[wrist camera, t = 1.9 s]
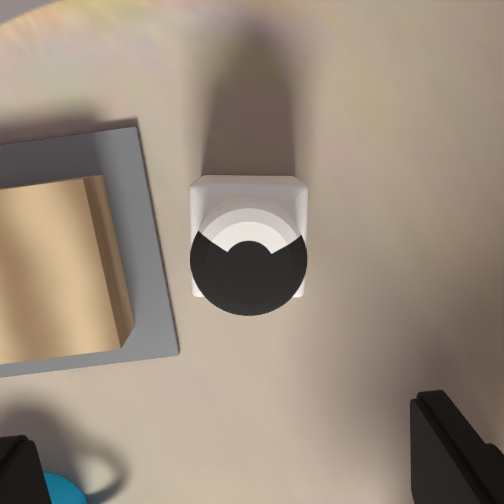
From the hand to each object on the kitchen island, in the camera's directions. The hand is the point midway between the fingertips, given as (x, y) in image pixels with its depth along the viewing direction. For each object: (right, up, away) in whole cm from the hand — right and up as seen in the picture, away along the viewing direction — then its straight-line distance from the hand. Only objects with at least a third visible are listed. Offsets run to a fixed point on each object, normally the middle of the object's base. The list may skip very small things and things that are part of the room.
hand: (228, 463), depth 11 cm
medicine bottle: (0, +7, +23) cm, 24 cm away
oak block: (-15, +4, +22) cm, 28 cm away
